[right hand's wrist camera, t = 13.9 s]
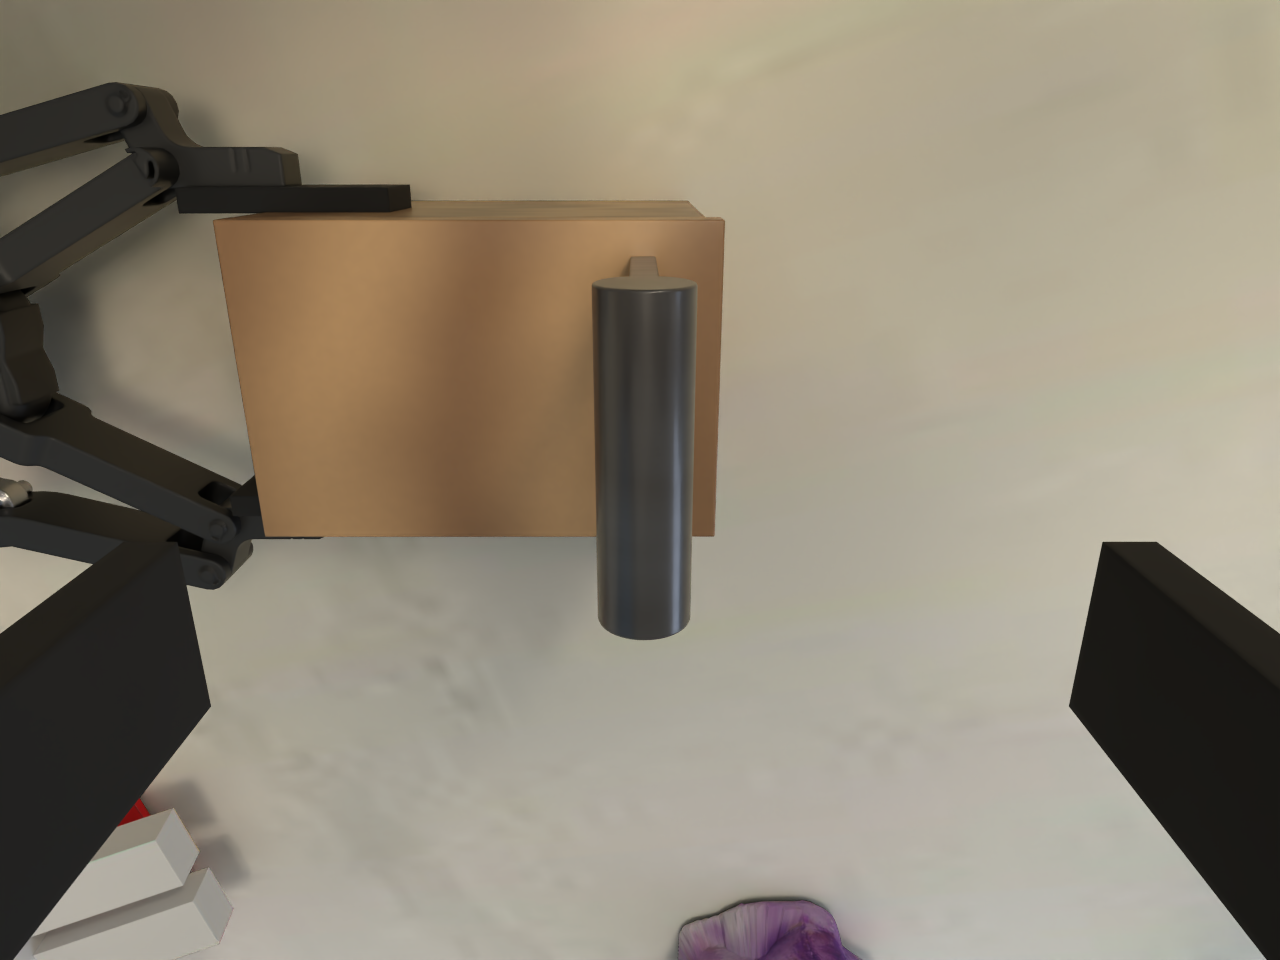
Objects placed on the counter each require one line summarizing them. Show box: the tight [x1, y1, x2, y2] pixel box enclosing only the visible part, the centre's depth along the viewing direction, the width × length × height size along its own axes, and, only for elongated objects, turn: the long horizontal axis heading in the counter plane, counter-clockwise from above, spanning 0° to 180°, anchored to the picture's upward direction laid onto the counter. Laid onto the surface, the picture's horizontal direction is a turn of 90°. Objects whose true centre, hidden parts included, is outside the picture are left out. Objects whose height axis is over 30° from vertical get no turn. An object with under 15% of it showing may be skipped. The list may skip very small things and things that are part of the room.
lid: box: [213, 217, 725, 640], centre depth 22 cm, size 14×9×9 cm
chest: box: [239, 201, 704, 217], centre depth 31 cm, size 14×9×10 cm
